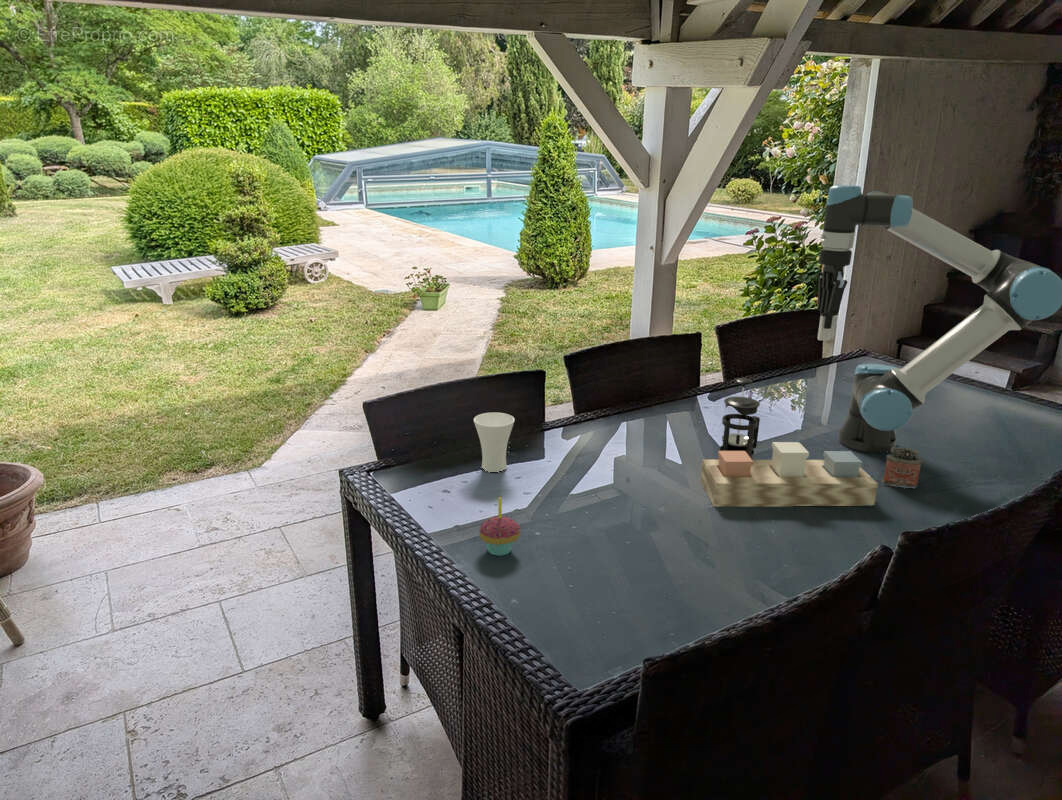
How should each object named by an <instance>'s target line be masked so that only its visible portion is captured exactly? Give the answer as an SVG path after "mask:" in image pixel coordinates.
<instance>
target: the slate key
mask: <svg viewBox="0 0 1062 800" xmlns="http://www.w3.org/2000/svg"><path fill="white" fill-rule="evenodd" d="M822 456H823V457H824V459H823V460H824V465H823V468H824V469H825V470H826V471H827V472H828V473H829V474H830V475H831V477H858V473H859V467H861V468H862V465H863V461H862V460H860V458H858V457H857V456H856V455H855V453H853V452H852V451H850V450H848V451H847V450H843V451H842V450H839V451H837V450H824V451H823V455H822Z"/></svg>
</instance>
